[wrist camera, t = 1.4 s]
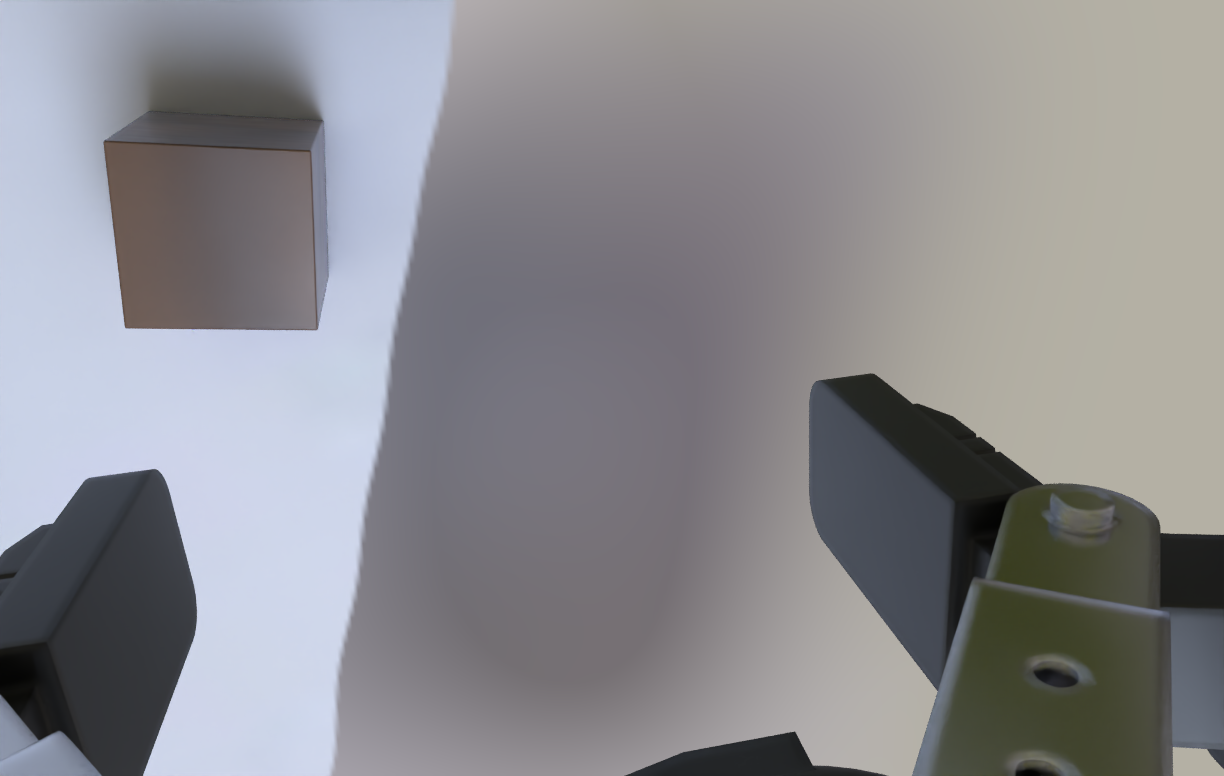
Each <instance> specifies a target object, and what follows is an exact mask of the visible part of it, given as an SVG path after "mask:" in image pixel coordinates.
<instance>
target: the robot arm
mask: <svg viewBox="0 0 1224 776" xmlns="http://www.w3.org/2000/svg"><path fill="white" fill-rule="evenodd" d="M809 495H810V505H811V511H812V515H813V519H814V522H815V525H816V528H817V531H818V533H819V535H820V537H821V539H822V540H823V541H824V543H825V544H826V546H827V547H828V548H829V549H830V551H831V552H832V553H833V555H834V556H835V557H836V559H837V560H838V561H839V562H840V564H841V565H842V566H843V568H844V569H845V570H846V572H847V573H848V574H849V576H850V577H851V578H852V579H853V581H854V582H855V584H856V585H857V586H858V587H859V589H860V590H861V591H862V592H863V594H864V595H865V597H866V598H867V599H868V600H869V602H870V603H871V604H872V606H873V607H874V608H875V610H876V611H877V612H878V614H879V615H880V616H881V618H882V619H883V620H884V622H885V623H886V624H887V625H888V627H889V628H890V629H891V631H892V632H893V633H894V634H895V636H896V637H897V639H898V640H899V641H900V642H901V644H902V645H903V646H904V648H905V649H906V650H907V652H908V653H909V654H910V656H912V658H913V659H914V661H915V662H916V663H917V665H918V666H919V667H920V668H921V670H922V671H923V673H924V674H925V675H926V677H927V678H928V679H929V680H930V682H931V683H932V684H933V686H934V687H935V688H936V689H937V691H938V692H937V696H936V699H935V703H934V706H933V709H932V712H931V715H930V719H929V722H928V725H927V728H926V732H925V735H924V738H923V742H922V745H921V748H920V751H919V755H918V758H917V761H916V765H915V768H914V771H913V774H912V776H1173V747H1186V748H1201V749H1207V750H1208V751H1209V753H1210V754H1211V756H1212V757H1213V758H1214V759H1215V760H1216V761H1217V762H1218V763H1219V765H1220V766H1221V767H1222V768H1224V535H1201V534H1199V535H1198V534H1166V533H1165V534H1164V533H1160V523H1159V520H1158V518H1157V517H1156V515H1155V514H1154V513H1153V512H1152V511H1151V510H1150V509H1148V508H1147V507H1146V506H1145V505H1143V504H1142V503H1140V502H1138V501H1136V500H1134V499H1133V498H1130V497H1128V496H1125V495H1123V494H1120V493H1117V492H1114V491H1111V490H1107V489H1103V488H1099V487H1094V486H1088V485H1079V484H1063V483H1062V484H1061V483H1059V484H1045V485H1043V484H1042V483H1041V482H1039V481H1038V480H1037V479H1035V478H1034V477H1033V476H1031V475H1030V474H1029V473H1027V472H1026V471H1025V470H1023V469H1022V468H1021V467H1019V466H1018V465H1017V464H1015V463H1014V462H1013V461H1011V460H1010V459H1009V458H1007V457H1006V456H1005V455H1004V454H1002V453H1001V452H995V448H994V447H993V446H991V445H990V444H989V443H988V442H986V441H985V440H984V439H982V438H981V437H978V438H977V437H976V434H975V433H974V432H973V431H971V430H970V429H969V428H968V427H966V426H965V425H964V424H962V423H961V422H960V421H958V420H957V419H956V418H954V417H953V416H950V415H948V414H945V413H942V412H940V411H936V410H934V409H931V408H928V407H926V406H923V405H920V404H912V403H911V402H910V401H908V400H907V399H906V398H905V397H903V396H902V395H901V394H899V393H898V392H897V391H896V390H894V389H893V388H892V387H891V386H889V385H888V384H887V383H885V382H884V381H883V380H882V379H880V378H879V377H878V376H877V375H875V374H864V375H856V376H849V377H842V378H834V379H827V380H819V381H816V382H815V383H814V385H813V386H812V389H811V393H810V402H809ZM196 621H197V606H196V595H195V589H194V585H193V580H192V576H191V573H190V569H189V565H188V561H187V557H186V554H185V550H184V546H183V542H182V538H181V535H180V531H179V527H178V523H177V519H176V516H175V512H174V508H173V504H172V500H171V497H170V493H169V490H168V486H167V484H166V481H165V479H164V477H163V476H162V474H161V473H160V472H159V471H158V470H156V469H152V470H144V471H137V472H129V473H122V474H115V475H107V476H100V477H92V478H88V479H86V480H85V481H84V482H83V484H82V485H81V486H80V488H79V489H78V490H77V492H76V493H75V495H74V496H73V497H72V499H71V500H70V501H69V503H68V504H67V506H66V507H65V508H64V510H63V511H62V512H61V514H60V515H59V516H58V518H57V519H56V521H55V522H54V523H53V524H48V525H42V526H40V527H39V528H38V529H36V530H35V531H33V532H32V533H30V534H29V535H27V536H26V537H24V538H23V539H21V540H20V541H18V542H17V543H16V544H14V545H13V546H11V547H10V548H8V549H7V550H5V551H4V553H3V554H2V555H1V556H0V776H143V774H144V771H145V768H146V765H147V763H148V760H149V757H150V755H151V752H152V749H153V747H154V744H155V741H156V739H157V736H158V733H159V730H160V728H161V725H162V722H163V720H164V717H165V714H166V712H167V709H168V706H169V703H170V701H171V698H172V695H173V693H174V690H175V687H176V685H177V682H178V679H179V677H180V674H181V671H182V668H183V666H184V663H185V660H186V658H187V655H188V652H189V650H190V647H191V644H192V642H193V639H194V635H195V630H196ZM626 776H886V775H883V774H878V773H873V772H868V771H863V770H858V769H851V768H841V767H832V766H813V765H812V763H811V762H810V759H809V758H808V756H807V754H806V752H805V750H804V748H803V746H802V744H801V742H800V740H799V738H798V736H797V734H796V733H795V732H790V733H785V734H780V735H774V736H768V737H764V738H758V739H753V740H747V741H742V742H736V743H731V744H726V745H721V746H715V747H709V748H704V749H699V750H693V751H688V752H683V753H680V754H678V755H675V756H673V757H671V758H668V759H666V760H663V761H661V762H658V763H656V764H653V765H651V766H648V767H646V768H643V769H641V770H638V771H636V772H633V773H631V774H628V775H626Z"/></svg>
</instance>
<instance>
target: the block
mask: <svg viewBox="0 0 1224 776" xmlns="http://www.w3.org/2000/svg"><path fill="white" fill-rule="evenodd" d="M104 151H105V160H106V168H107V177H108V185H109V194H110V203H111V211H112V220H113V228H114V237H115V246H116V254H117V263H118V271H119V280H120V289H121V297H122V306H123V314H124V323H125V328H142V329H246V330H317V329H318V325H319V321H320V316H321V311H322V306H323V301H324V296H325V291H326V286H327V281H328V245H327V212H326V179H325V146H324V122H323V121H319V120H300V119H282V118H263V117H244V116H225V115H207V114H188V113H169V112H150V111H149V112H147V113H146V114H144V115H142V116H141V117H139V118H138V119H136V120H135V121H133V122H132V123H130V124H129V125H127V126H126V127H124V128H123V129H121V130H120V131H118V132H117V133H115V134H114V135H112V136H111V137H109V138H108V139H106V140H105V141H104Z"/></svg>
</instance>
